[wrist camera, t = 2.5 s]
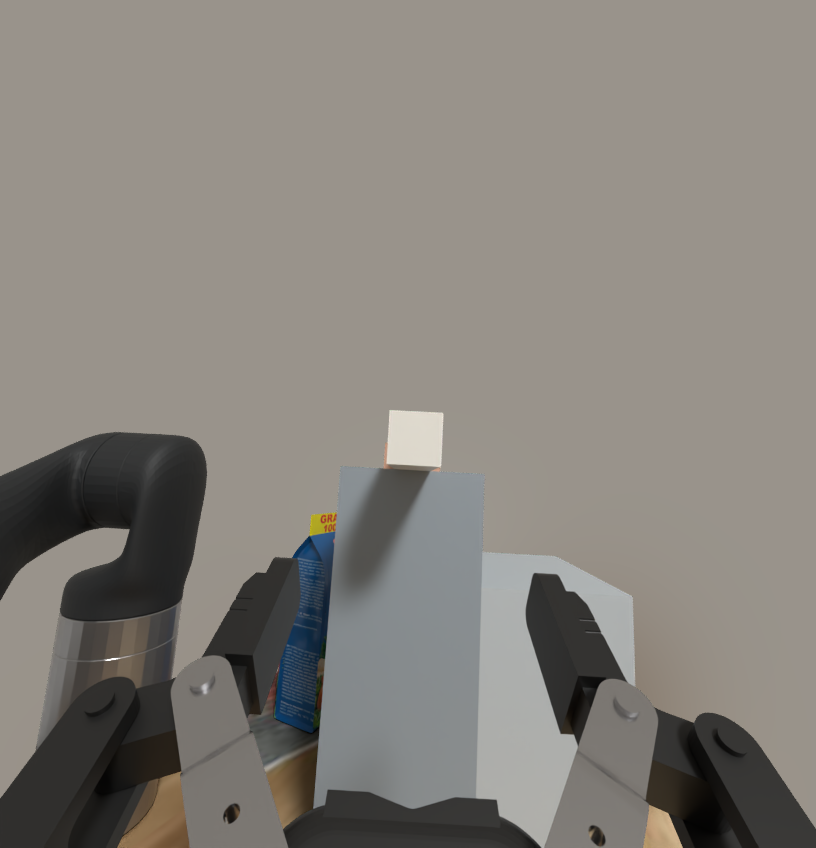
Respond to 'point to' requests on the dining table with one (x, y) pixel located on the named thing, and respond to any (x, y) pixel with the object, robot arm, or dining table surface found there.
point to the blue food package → (308, 631)
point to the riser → (443, 653)
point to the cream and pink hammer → (414, 441)
